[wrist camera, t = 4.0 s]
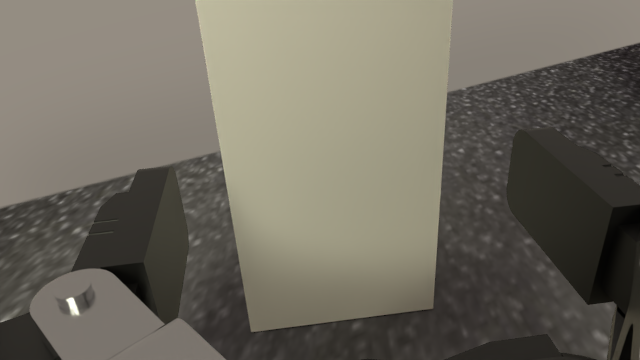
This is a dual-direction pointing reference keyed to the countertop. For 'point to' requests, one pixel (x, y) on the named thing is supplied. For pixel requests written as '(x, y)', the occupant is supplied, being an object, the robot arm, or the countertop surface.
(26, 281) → the countertop surface
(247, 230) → the cover
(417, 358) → the countertop surface
